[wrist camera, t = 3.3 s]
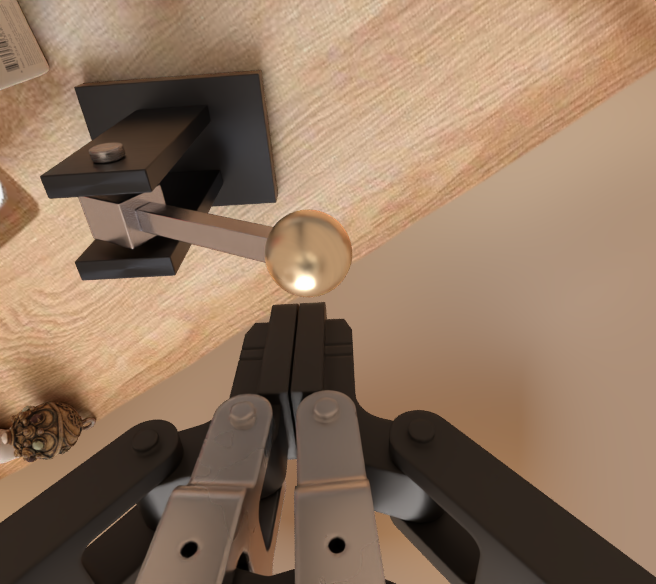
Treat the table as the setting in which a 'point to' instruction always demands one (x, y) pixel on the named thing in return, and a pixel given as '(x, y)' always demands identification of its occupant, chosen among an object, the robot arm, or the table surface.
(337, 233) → the lever with brass knob
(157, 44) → the table surface
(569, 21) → the table surface
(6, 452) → the white lobed figurine
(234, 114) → the lever base
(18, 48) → the ink box
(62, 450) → the pendant
